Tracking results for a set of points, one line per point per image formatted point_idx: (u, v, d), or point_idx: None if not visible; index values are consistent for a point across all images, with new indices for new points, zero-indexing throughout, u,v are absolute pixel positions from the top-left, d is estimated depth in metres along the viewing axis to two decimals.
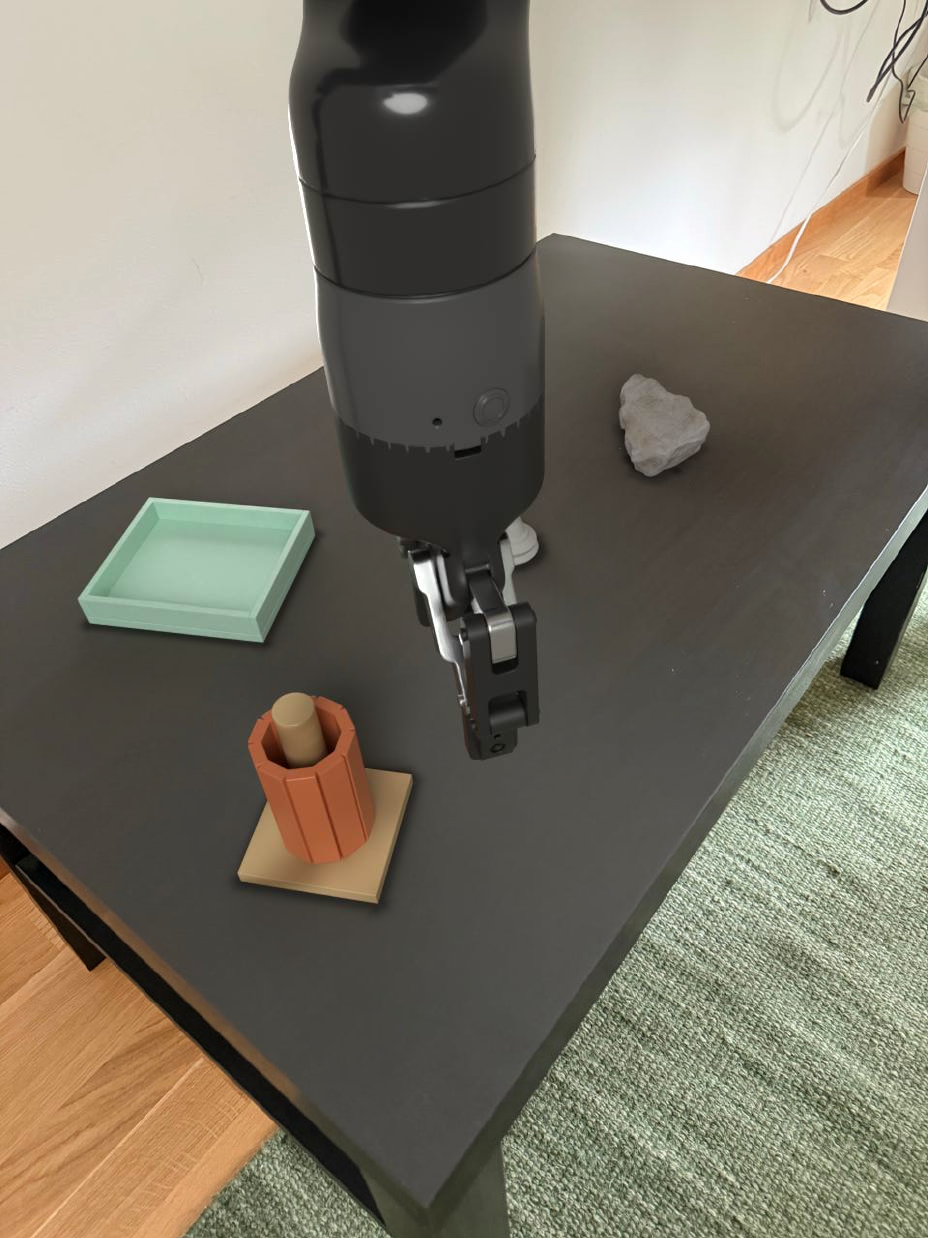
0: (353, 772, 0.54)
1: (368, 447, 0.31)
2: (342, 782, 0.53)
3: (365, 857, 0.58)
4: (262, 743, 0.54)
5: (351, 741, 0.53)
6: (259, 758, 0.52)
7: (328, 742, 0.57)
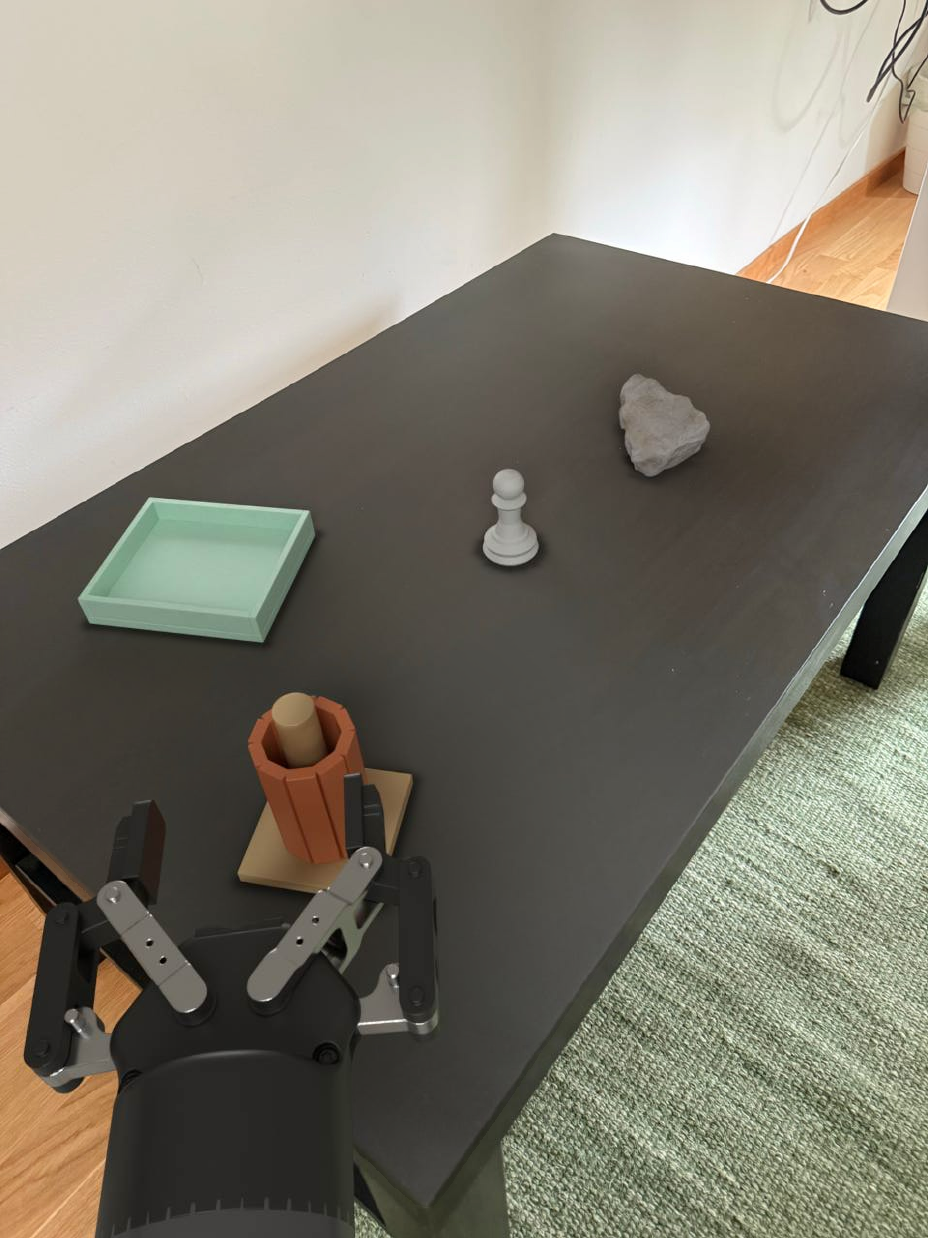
0: (353, 772, 0.54)
1: (120, 1214, 0.25)
2: (342, 782, 0.53)
3: None
4: (262, 743, 0.54)
5: (351, 741, 0.53)
6: (259, 758, 0.52)
7: (328, 742, 0.57)
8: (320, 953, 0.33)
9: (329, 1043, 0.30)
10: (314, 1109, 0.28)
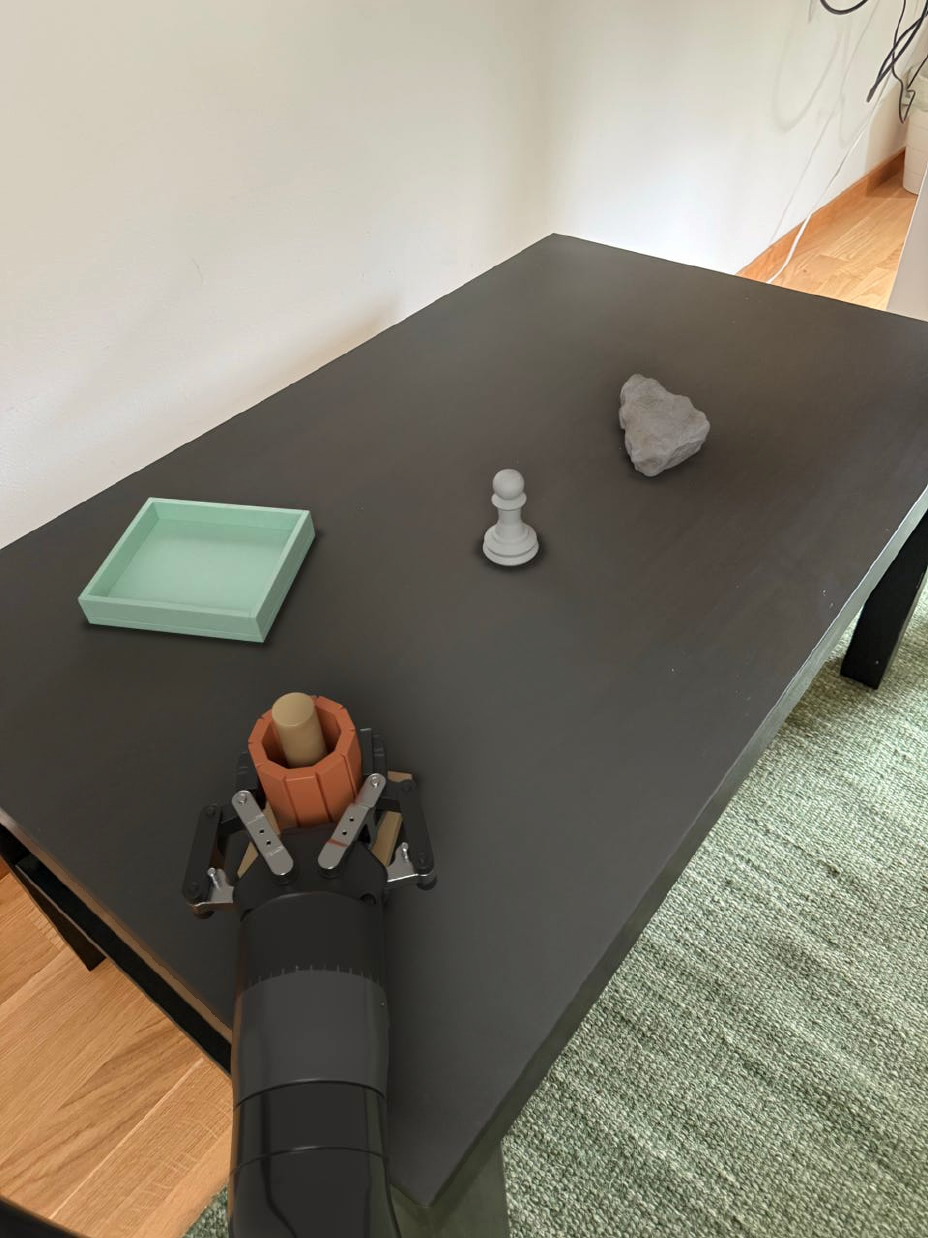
0: (353, 772, 0.54)
1: (253, 975, 0.44)
2: (342, 782, 0.53)
3: None
4: (262, 743, 0.54)
5: (351, 741, 0.53)
6: (259, 758, 0.52)
7: (329, 742, 0.57)
8: (362, 843, 0.52)
9: (369, 894, 0.49)
10: (362, 925, 0.47)
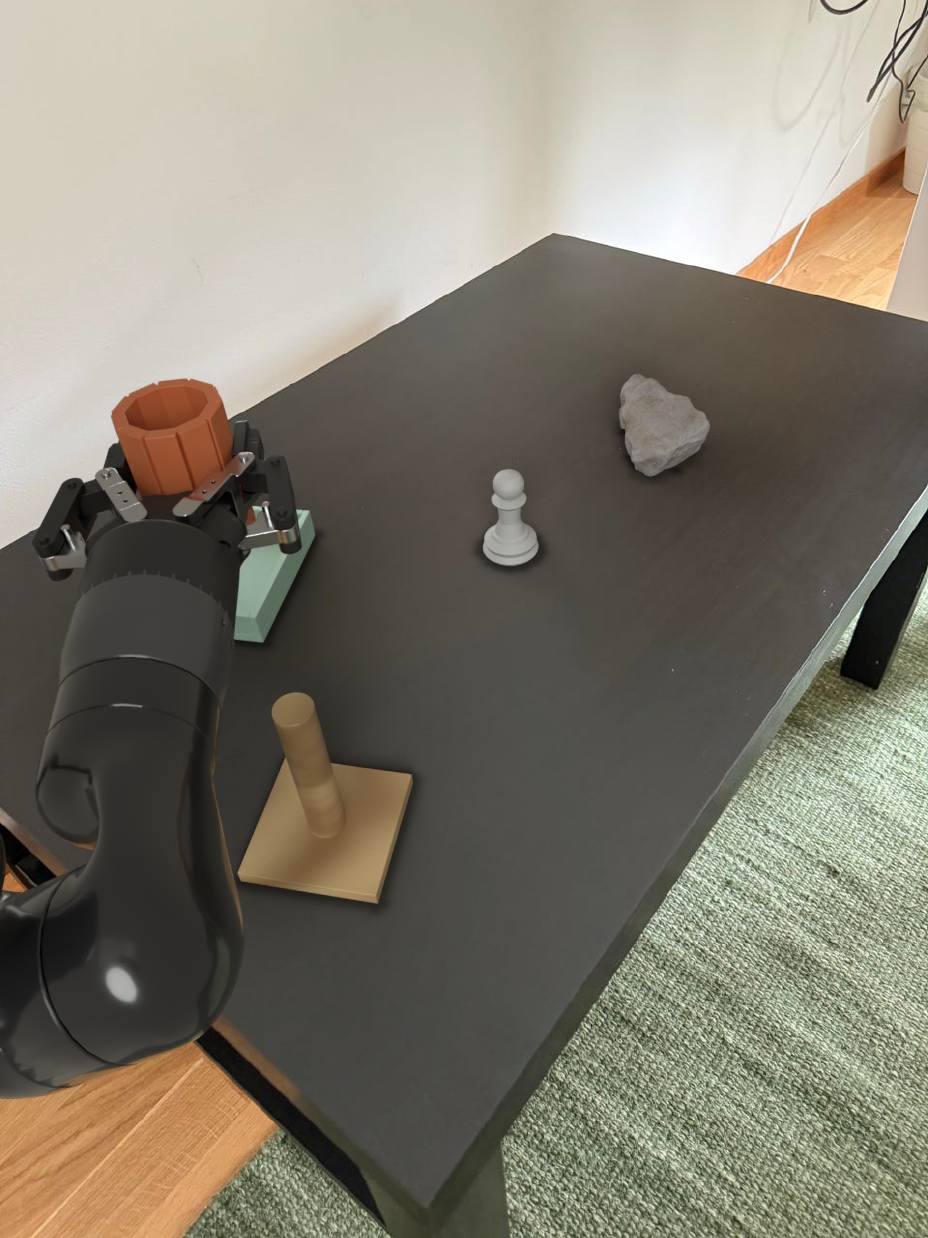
0: (221, 447, 0.52)
1: (87, 585, 0.43)
2: (208, 453, 0.52)
3: (365, 857, 0.58)
4: (126, 414, 0.52)
5: (217, 409, 0.51)
6: (120, 423, 0.51)
7: None
8: (223, 505, 0.50)
9: (224, 541, 0.48)
10: (208, 553, 0.45)
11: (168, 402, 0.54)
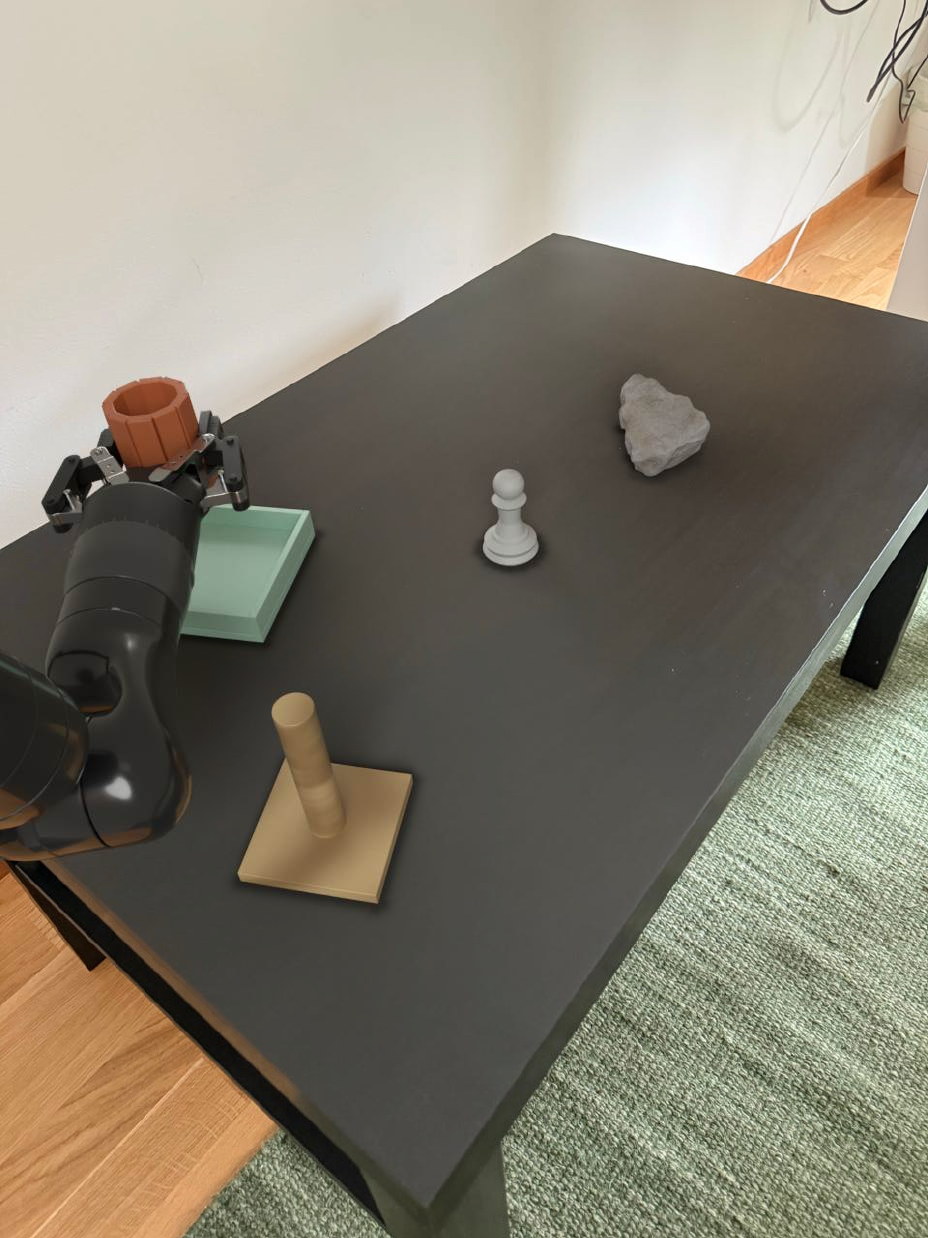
0: (188, 430, 0.67)
1: (82, 530, 0.57)
2: (177, 434, 0.66)
3: (365, 857, 0.58)
4: (114, 404, 0.67)
5: (184, 400, 0.66)
6: (109, 411, 0.65)
7: None
8: (188, 474, 0.65)
9: (188, 500, 0.62)
10: (174, 507, 0.60)
11: (147, 395, 0.69)
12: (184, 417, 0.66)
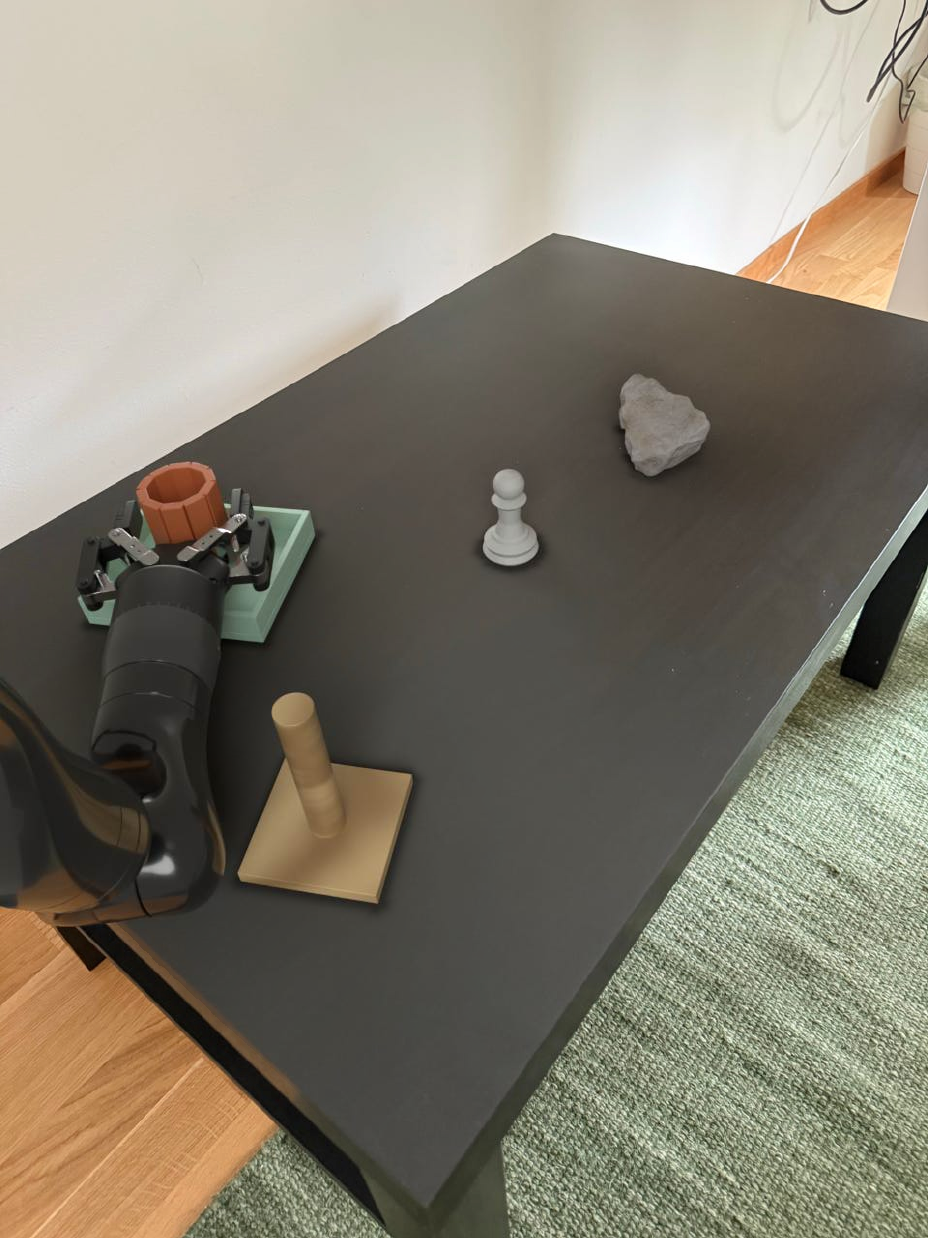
0: (215, 513, 0.72)
1: (119, 612, 0.63)
2: (205, 518, 0.72)
3: (365, 857, 0.58)
4: (147, 490, 0.72)
5: (212, 487, 0.71)
6: (143, 497, 0.71)
7: None
8: None
9: (213, 578, 0.67)
10: (202, 588, 0.65)
11: (177, 479, 0.74)
12: (212, 503, 0.72)
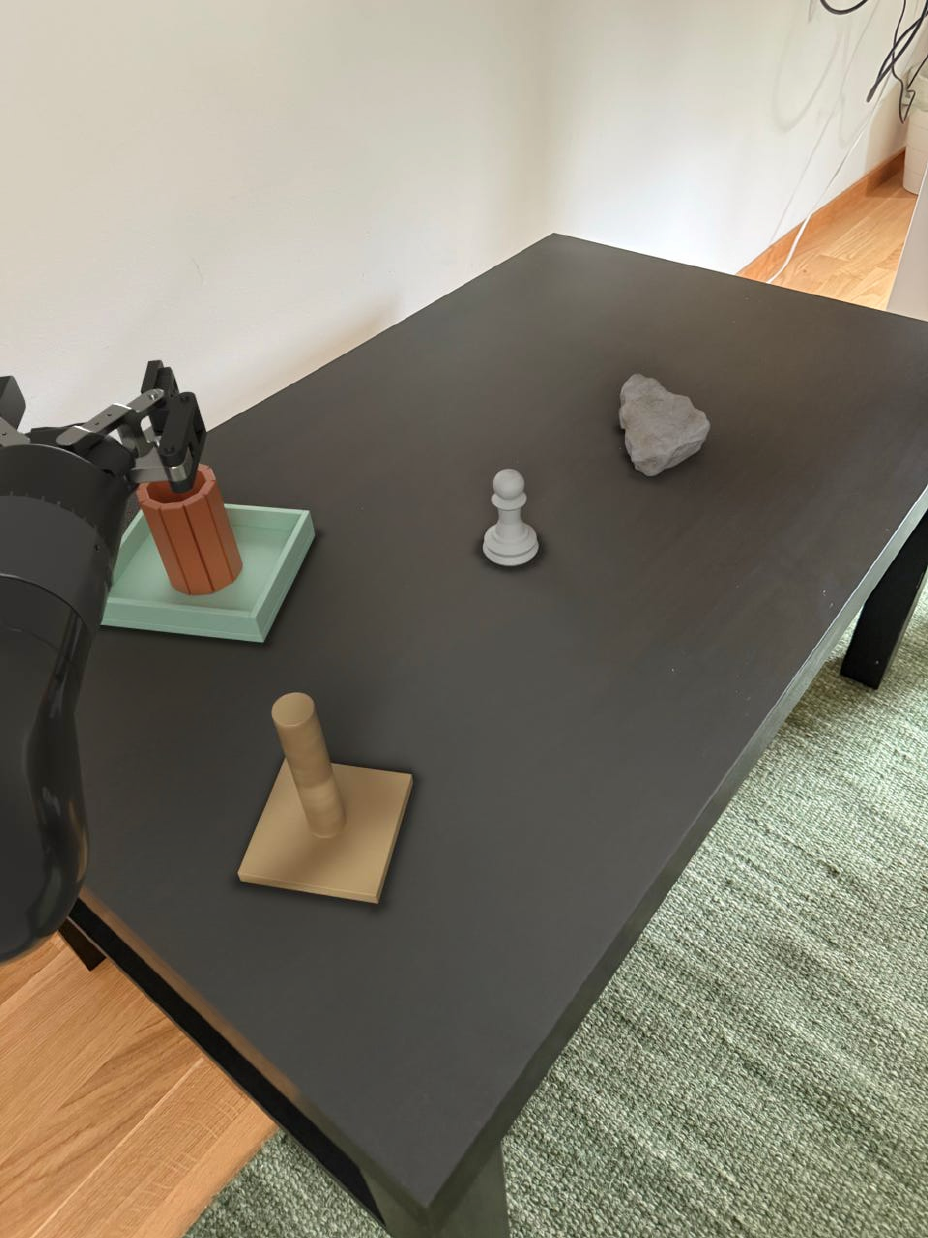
0: (215, 513, 0.72)
1: None
2: (205, 518, 0.72)
3: (365, 857, 0.58)
4: (147, 490, 0.72)
5: (212, 487, 0.71)
6: (143, 497, 0.71)
7: None
8: (112, 437, 0.49)
9: (108, 470, 0.46)
10: (86, 479, 0.44)
11: None
12: (212, 503, 0.72)
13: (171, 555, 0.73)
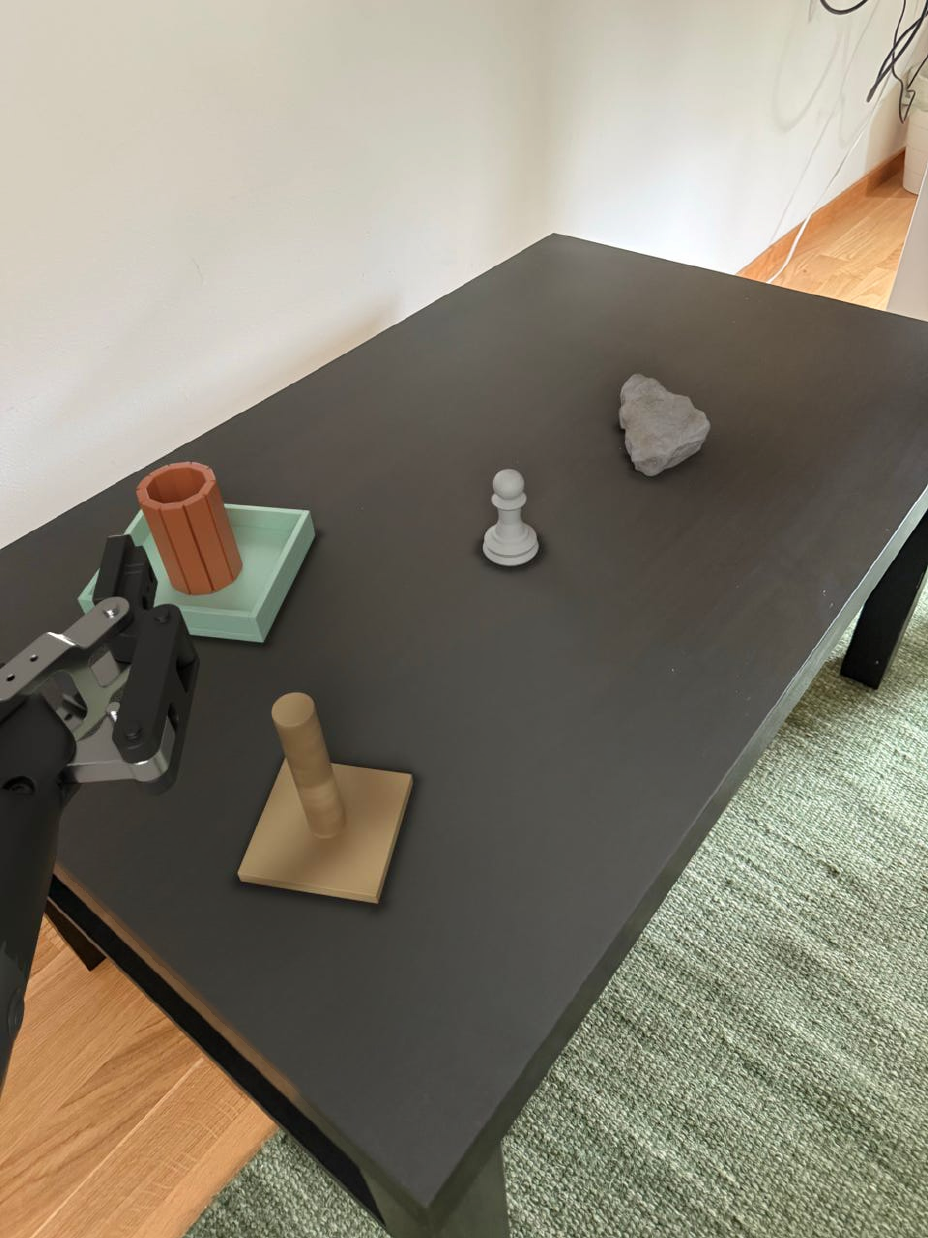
0: (215, 513, 0.72)
1: None
2: (205, 518, 0.72)
3: (365, 857, 0.58)
4: (147, 490, 0.72)
5: (212, 487, 0.71)
6: (143, 497, 0.71)
7: None
8: (39, 696, 0.29)
9: (24, 777, 0.26)
10: None
11: (177, 479, 0.74)
12: (212, 503, 0.72)
13: (171, 555, 0.73)
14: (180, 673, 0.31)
